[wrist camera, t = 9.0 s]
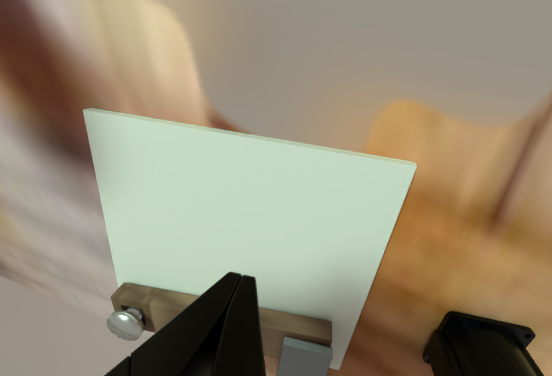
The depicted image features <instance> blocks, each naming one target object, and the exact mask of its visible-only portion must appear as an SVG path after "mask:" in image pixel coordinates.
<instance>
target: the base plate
mask: <svg viewBox="0 0 552 376" xmlns="http://www.w3.org/2000/svg"><path fill="white" fill-rule="evenodd" d="M83 114H84V119H85V124H86V129H87V134H88V139H89V144H90V149H91V154H92V159H93V164H94V169H95V174H96V179H97V184H98V189H99V194H100V199H101V203H102V208H103V213H104V218H105V223H106V228H107V233H108V238H109V243H110V248H111V253H112V258H113V263H114V268H115V273H116V278H117V283H118V288H119V287H120V286H121V285H122V284H123V283H124V282H125V283H130V284H136V285H141V286H146V287H152V288H157V289H163V290H168V291H173V292H179V293H184V294H189V295H195V296H200V295H202V294H203V293H204V292H205V291H206V290H208V289H209V288H210V287H211V286H212V285H214V284H215V283H216V282H217V281H218V280H220V279H221V278H222V277H223V276H224V275H225V274H227V273H228V272H236V273H240V274H242V276H243V275H249V276H254V277H255V278H256V284H257V294H258V303H259V308H265V309H270V310H275V311H281V312H286V313H291V314H297V315H302V316H307V317H313V318H318V319H324V320H329V321H332V344H331V348H333V358H332V361H331V364H330V367H329V368H332V369H336V370H339V368H340V366H341V363H342V360H343V358H344V355H345V353H346V350H347V347H348V345H349V342H350V340H351V337H352V334H353V332H354V329H355V327H356V324H357V321H358V319H359V316H360V314H361V311H362V308H363V306H364V303H365V301H366V298H367V295H368V293H369V290H370V288H371V285H372V282H373V280H374V277H375V274H376V272H377V269H378V267H379V264H380V261H381V259H382V256H383V254H384V251H385V248H386V246H387V243H388V241H389V238H390V235H391V233H392V230H393V228H394V225H395V222H396V220H397V217H398V215H399V212H400V209H401V207H402V204H403V202H404V199H405V196H406V194H407V191H408V188H409V186H410V183H411V181H412V178H413V175H414V173H415V170H416V168H417V165H416V164H415V163H414V162H412V161H406V160H400V159H394V158H388V157H382V156H376V155H370V154H364V153H359V152H352V151H347V150H341V149H334V148H329V147H323V146H316V145H311V144H305V143H299V142H293V141H287V140H281V139H275V138H269V137H263V136H257V135H251V134H245V133H239V132H233V131H227V130H221V129H215V128H209V127H203V126H197V125H191V124H185V123H179V122H173V121H167V120H161V119H155V118H149V117H143V116H137V115H131V114H125V113H119V112H113V111H107V110H101V109H95V108H88V109H84V110H83ZM143 316H144V313H143V309H139V308H134V307H128V309H127V310H126V311H125V310H117V311H114V312H113V313H112V314H111V316H110V317H109V318H108V319H107V326H108V328H109V329H110V331H111V332H112V333H113V334H115V335H116V336H118V337H120V338H122V339H124V340H129V341H133V340H137V339H139V337H140V336H141V334H142V333H143V331H144V324H143V322H142V321H141V319H142V317H143Z"/></svg>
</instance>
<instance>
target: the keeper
mask: <svg viewBox="0 0 552 376" xmlns="http://www.w3.org/2000/svg"><path fill="white" fill-rule="evenodd" d="M332 358H333V348H331V347H327V346H322V345H318V344H314V343H310V342H306V341H302V340H297V339H293V338H289V337H284V342H283V346H282V351H281V356H280V358H279V361H278V368H277V374H276V376H326V375H327V372H328V369H329V367H330V364H331V361H332Z"/></svg>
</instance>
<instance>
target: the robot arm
mask: <svg viewBox="0 0 552 376" xmlns="http://www.w3.org/2000/svg"><path fill="white" fill-rule="evenodd" d="M534 338H535V333H534V332H533V331H532V329H531V328H528V327H524V326H519V325H515V324H510V323H506V322H501V321H496V320H492V319H487V318H482V317H478V316H473V315H469V314H464V313H459V312H449V313H448V314H447V315H446V317H445V318H444V320H443V322H442V323H441V325H440V327H439V328H438V330H437V332H436V333H435V335H434V336H433V338H432V340H431V341H430V343H429V345H428V346H427V348H426V350H425V352H424V353H423V356H422V357H423V360H424V362H425V363H427V364H431V367H432V370H433V373H434V376H544V375H543V373H542V372H541V370H540V369H539V367H538V366H537V364H536V363H535V361H534V360H533V358H532V357H531V356H530V354H529V353H528V351H527V350H526V347H527V346H528V345H529V343H530V342H531V341H532V340H533V339H534ZM104 376H266V371H265V361H264V351H263V342H262V332H261V323H260V313H259V303H258V294H257V284H256V278H255V277H254V276H249V275H243V276H242V274H240V273H236V272H228V273H227V274H225V275H224V276H223V277H222V278H221V279H220V280H218V281H217V282H216V283H215V284H214V285H212V286H211V287H210V288H209V289H208V290H206V291H205V292H204V293H203V294H202V295H200V296H199V297H198V298H197V299H196V300H194V301H193V302H192V303H191V304H190V305H188V306H187V307H186V308H185V309H184V310H183V311H181V312H180V313H179V314H178V315H177V316H175V317H174V318H173V319H172V320H171V321H169V322H168V323H167V324H166V325H165V326H163V327H162V328H161V329H160V330H159V331H157V332H156V333H155V334H154V335H153V336H152V337H150V338H149V339H148V340H147V341H146V342H144V343H143V344H142V345H141V346H140V347H138V348H137V349H136V350H135V351H134V352H132V353H131V357H130V356H127V357H126V358H125V359H124V360H123V361H122V362H120V363H119V364H118V365H117V366H116V367H114V368H113V369H112V370H111V371H109V372H108V373H107V374H106V375H104Z"/></svg>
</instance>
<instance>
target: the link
mask: <svg viewBox="0 0 552 376" xmlns="http://www.w3.org/2000/svg"><path fill="white" fill-rule="evenodd" d="M198 297H199V296H195V295H189V294H184V293H179V292H173V291H168V290H163V289H157V288H152V287H146V286H141V285H136V284H130V283H125V282H124V283H123V284H122V285H121V286H120V287H119V288H118V289H117V290H116V291H115V293H114V294H113V295H112V296H111V300H112V303H113V307H114V310H115V311H117V310H125V311H126V310H127V309H128V307H134V308H139V309H143V313H144V316H143V317H142V319H141V321H142V322H143V324H144V330H146V331H150V332H155V333H156V332H157V331H159V330H160V329H161V328H162V327H163V326H165V325H166V324H167V323H168V322H169V321H171V320H172V319H173V318H174V317H175V316H177V315H178V314H179V313H180V312H181V311H183V310H184V309H185V308H186V307H187V306H188V305H190V304H191V303H192V302H193V301H194V300H196V299H197V298H198ZM259 313H260V323H261V332H262V342H263V351H264V355H265V356H270V357H275V358H280V356H281V351H282V346H283V342H284V337H289V338H293V339H297V340H302V341H306V342H310V343H314V344H318V345H322V346H327V347H331V344H332V321H329V320H324V319H318V318H313V317H307V316H302V315H297V314H291V313H286V312H281V311H275V310H270V309H265V308H259Z"/></svg>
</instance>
